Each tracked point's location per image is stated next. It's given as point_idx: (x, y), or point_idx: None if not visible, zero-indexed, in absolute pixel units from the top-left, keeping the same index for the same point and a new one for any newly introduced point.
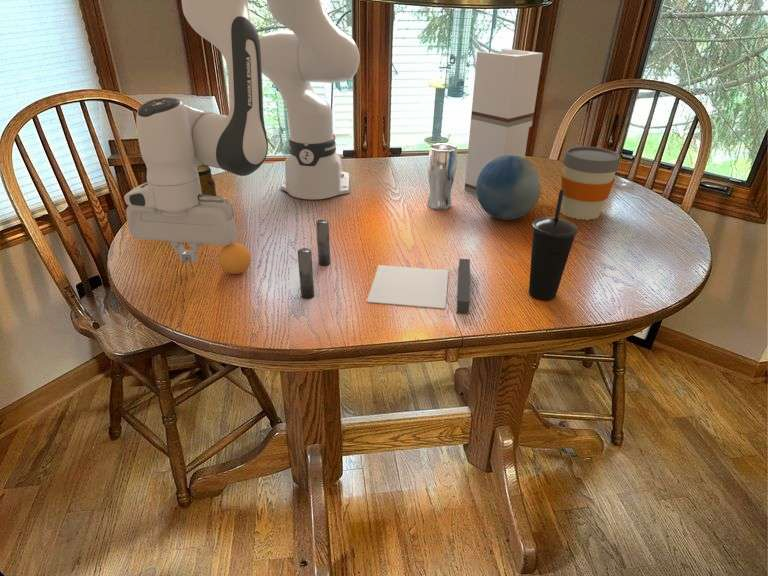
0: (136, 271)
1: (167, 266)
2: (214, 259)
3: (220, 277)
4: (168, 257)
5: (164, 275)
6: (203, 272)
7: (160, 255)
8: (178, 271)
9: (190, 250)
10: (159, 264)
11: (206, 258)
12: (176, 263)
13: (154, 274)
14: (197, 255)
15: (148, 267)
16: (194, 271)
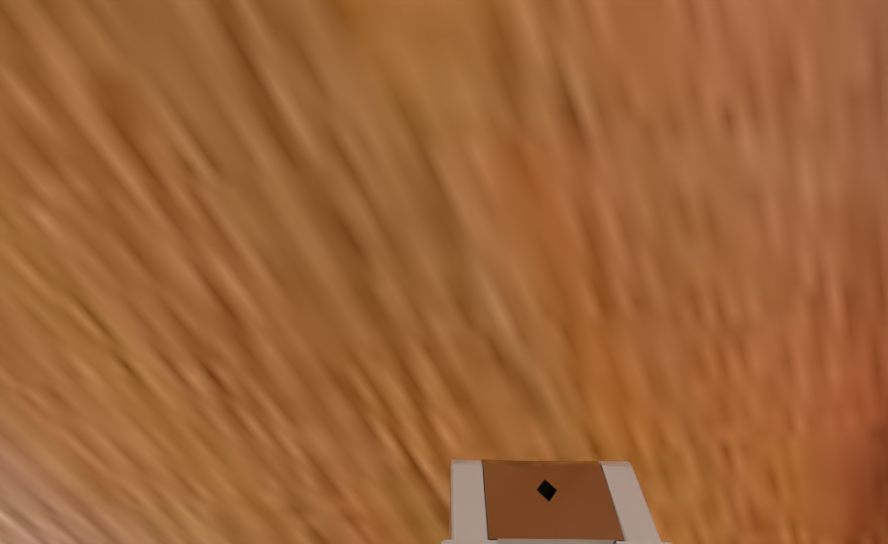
0: (55, 508)
1: (265, 404)
2: (715, 199)
3: (841, 506)
4: (138, 229)
5: (339, 532)
6: (665, 456)
7: (5, 194)
8: (424, 467)
9: (566, 541)
10: (159, 381)
11: (608, 188)
12: (317, 341)
13: (245, 528)
14: (639, 491)
15: (100, 441)
16: (573, 451)
